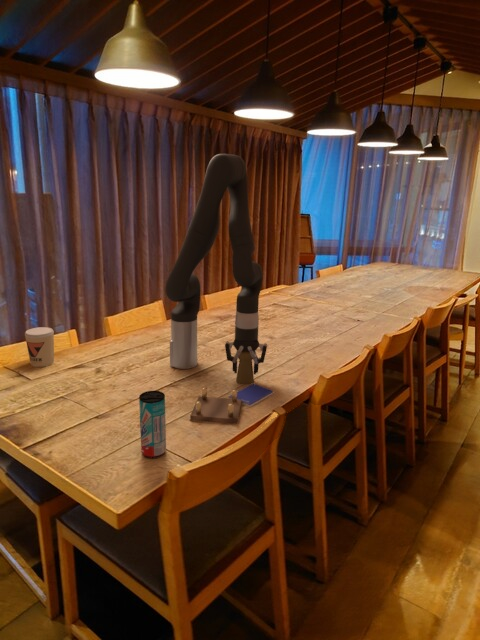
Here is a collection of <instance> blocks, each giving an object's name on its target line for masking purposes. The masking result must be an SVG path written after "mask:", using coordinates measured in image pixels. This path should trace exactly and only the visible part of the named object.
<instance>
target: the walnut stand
mask: <svg viewBox="0 0 480 640" xmlns="http://www.w3.org/2000/svg"><path fill="white" fill-rule="evenodd" d="M237 392H238V389H236V388H234V389H231V395H232V399H229V398H228V397H227V398H226V397H214V396H208V388H207V387H205V386H203V387H201V396H199V395H198V397H197V399H196V401H195V403H194V406H193V408H192V411H191V414H190V415H189V416H190V421H192V422H193V421H194V422H204V423H205V422H207V423H219V424H234V425H238V422H239V421H238V420H239V417H240V414H241V413H240V412H241V408H242V405H243V404H242V399H237Z"/></svg>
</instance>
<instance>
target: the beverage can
mask: <svg viewBox="0 0 480 640" xmlns="http://www.w3.org/2000/svg"><path fill="white" fill-rule="evenodd" d="M138 398H139V399H138V401H139V425H140V426H139V429H140V450H141V454H142V456H144V457H145V458H147V459H158V458H160V457H162V456H163V455H165V454H166V451H167V441H166V440H167V438H166V437H167V433H166V432H167V430H166V427H167V425H166V394H165V393H164V392H162V391H160V390H148V391H144V392H142V393H140V394H139V396H138Z"/></svg>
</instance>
